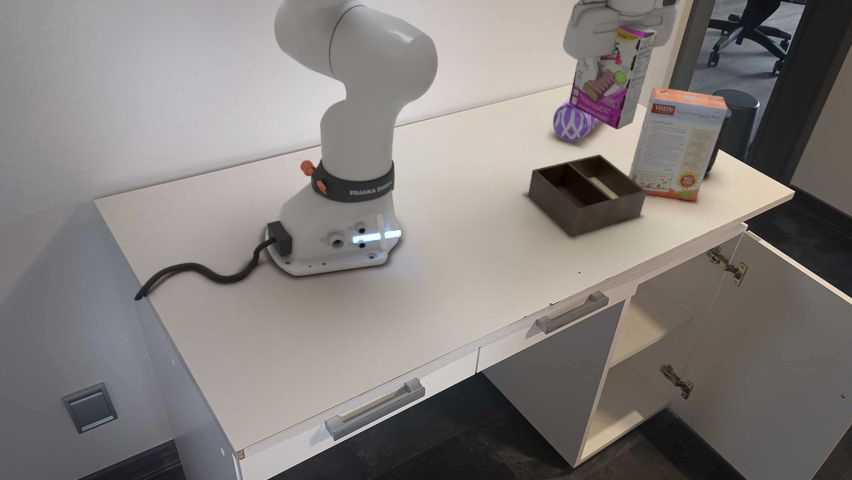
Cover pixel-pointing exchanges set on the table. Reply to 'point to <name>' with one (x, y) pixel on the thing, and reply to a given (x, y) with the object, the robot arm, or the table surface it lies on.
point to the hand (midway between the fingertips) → (609, 75)
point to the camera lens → (719, 141)
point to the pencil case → (572, 122)
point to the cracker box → (677, 142)
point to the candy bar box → (615, 78)
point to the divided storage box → (586, 194)
